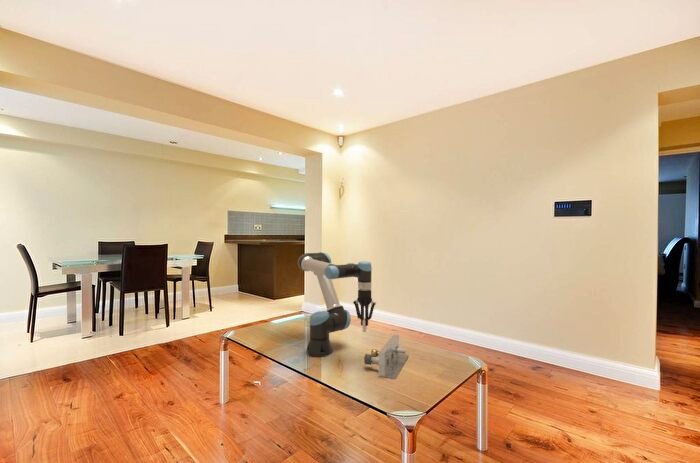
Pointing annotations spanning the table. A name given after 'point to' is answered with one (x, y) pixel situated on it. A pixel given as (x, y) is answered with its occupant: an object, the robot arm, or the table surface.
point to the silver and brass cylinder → (374, 353)
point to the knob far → (400, 350)
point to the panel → (391, 359)
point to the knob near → (370, 359)
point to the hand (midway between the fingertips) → (364, 331)
